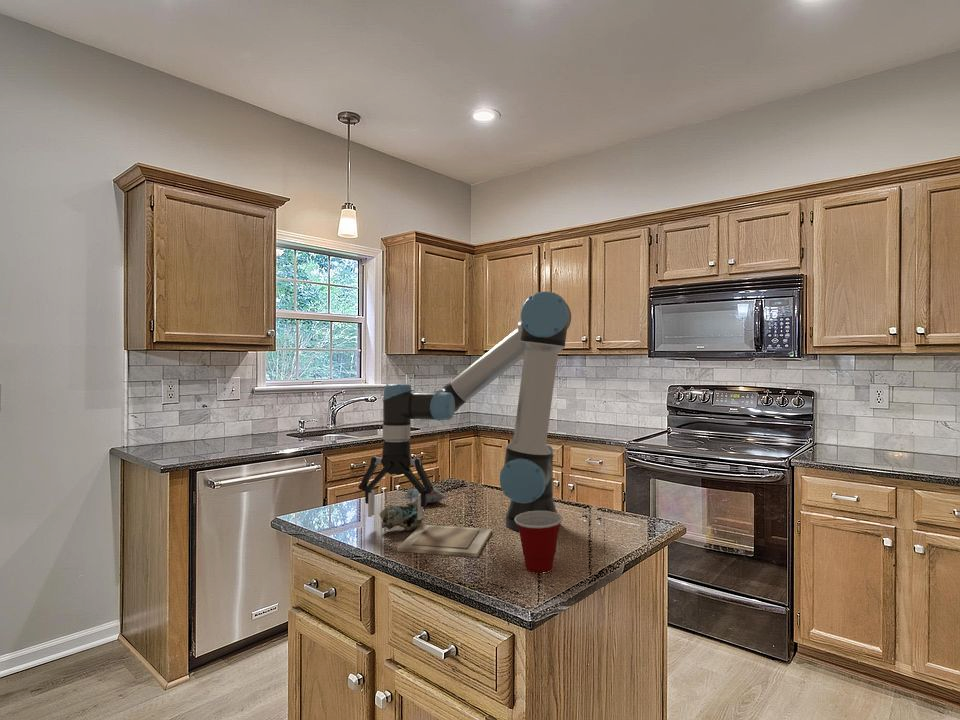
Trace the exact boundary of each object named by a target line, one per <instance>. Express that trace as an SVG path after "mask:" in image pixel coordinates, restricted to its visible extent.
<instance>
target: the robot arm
mask: <svg viewBox="0 0 960 720" xmlns="http://www.w3.org/2000/svg"><path fill="white" fill-rule="evenodd" d="M571 322H572V312H571V309H570V306H569V305H568V303H567V302H566V300H565V299H564V298H563V297H562V296H561V295H560V294H557V293H556V292H552V291H538V292H535V293H532V295H530V296H529V297H527V299H526V300H525V301H524V303H523V304H522V307H521V311H520V321H519V322H518V326H517V328H516V329H515V330H514V331H512V332H511V333H510V334H508V336H506V337H505V338H503V339H502V340H501V341H500V342H498V343H497V344H496V345H495V346H493V347H492V348H491V349H489V351H487V352H486V353H484V354H483V355H482V356H481V357H479V358H478V359H477V360H476V361H474V362H473V363H472V364H471V365H469V366H468V367H467V368H466V369H464V370H463V371H461V373H459V374H458V375H456V377H454V378H452V380H450V381H449V382H448V383H447V384H445V385H444V386H443V387H442V388H441V389H439V390H433V391H414V390H412V385H410V384H408V383H388V384H385V386H384V387H383V388H384V389H383V397H382V398H383V399H382V404H383V405H382V413H383V415H382V418H383V419H382V421H383V422H382V439H383V440H384V441H382V457H379V456H378V455H375V456H372V457H371V460H370V464H369V466H368V468H367V470H366V472H365V474H364V476H363V478H362V480H361V482H360V483H359V485H358V489H359V490H360V491H361V490H362V491H364V493H365V494H364V496H365V497H364V499H365V501H364V502H365V504H367V517H368V518H369V517H370V518H371V517H373V516H374V515H375V495H376V494H375V493H376V492H375V490H373V489H374V488H375V487H376V486H377V485H378V484H379V482H380V481H381V480H382V479H384V477H385V476H386V474H387V475H391V476H392V475H397V476H400V475H401V476H402V475H404V476H405V477H406V478H407V479H408V481H409V482H410V483H411V485H412V486H413V487H414V489H415V488H416V489H417V490H418V492H419V493H420V494H419V495H418V514H417V520H421V519H422V518H424V515H423V513H424V508H425V507H426V506H427V505H428V504H427V494H428V493H431V492H432V491H433V490H434V489H433V484H432V483H431V481H430V480H431V479H429V477H428V474H427V473H426V471H425V468H424V466H423V460H422V458H421V457H417V458H411V441H410V439H411V424H412V423H411V421H412V420H432V421H438V422H439V421H446V420H447V421H448V420H451V419H452V418H453V416H454V414H455V413H456V412H458V411H459V410H460V409H461V407H462V406H463V405H464V404H466V403H467V401H469V400H470V399H472V398H473V397H475V396H476V395H477V394H479V392H481V391H482V390H484V389H485V388H486V387H487V386H489V385H490V384H491V383H492V382H494V381H495V380H496V379H498V377H500V376H502V374H504V373H505V372H506V371H508V370H509V369H510V368H512V367H513V366H514V365H515V364H517V363H518V362H519V361H521V360H522V359H523V361H522V371H521V378H520V385H519V393H518V402H517V408H516V417H515V425H514V432H513V439H512V441H510V442H509V443H507V445H506V449H505V454H504V455H505V456H504V464H503V467H502V469H500V470H501V471H500V474H499V485H500V488H501V490H502V492H503V494H504V495H505V496H506V497H507V498H508V499H510V503H509V506H508V508H507V512H506V515H505V527H506V528H508V529H509V530H512V531H514V532H515V531H516V532H519V530H518V527H517V524H516V522H515V520H514V519H515V517H516V516H517V515H519V514H521V513H525V512H528V511H551V512H555V513H558V511H557V509H556V504H555V501H554V497H553V496H554V494H553V493H554V483H553V482H554V475H553V474H554V472H553V471H554V470H553V469H554V456H555V455H554V450H553V447H552V446H551V445H548V444H547V440H548V433H549V427H550V417H551V410H552V401H553V395H554V388H555V387H554V385H555V378H556V370H557V365H558V363H557V362H558V355H559V353H560V352H561V351H562V350H563V349H565V348H566V341H567V333H568V332H567V331H568V329H569V328H570V325H571ZM380 464H381V465H382V467H383V468H382V469H381V470H380V471H379V473H377V475H376V476H375V477H374V478H373V479H372V476H373V475H374V472H375V471H376V469H377V467H378V465H380ZM411 465H412V466H413V467H414V468H415V471H416V472H417V474H418V477H419V479H418V477H417V476H416V475H415V473H414V472H413V470H412V469H411V468H410V466H411ZM370 479H372V481H371V482H370V483H369V481H370ZM368 483H369V484H368Z"/></svg>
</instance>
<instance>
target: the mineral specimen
mask: <svg viewBox="0 0 960 720" xmlns="http://www.w3.org/2000/svg"><path fill="white" fill-rule="evenodd" d="M417 514H418V503H412V502H411V503H410V504H408V505H405V506H403V505H392V504H389V505H388V506H386V507H385V508H384V509H382V510H381V511H380V512H379V513H378V515H379V517H380V518H381V520H382V521H381V529H385V528H387V530H391V529H392V528H394V527H401V528H403V529H404V530H405V531H406V532H410V531H413V530H416V529H417V528H418V527H419V526H422V525H424V524H423V518H424V517H423V518H422V519H421V520H417ZM424 515H425V513H424V512H423V516H424Z"/></svg>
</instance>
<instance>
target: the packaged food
mask: <svg viewBox="0 0 960 720" xmlns="http://www.w3.org/2000/svg"><path fill="white" fill-rule="evenodd" d="M432 487H433V486H432ZM433 489H434V490H433V491H432V492H431V493H428V494H427V504H426V505H430V504H435V503H438V502H441V501H443V500H445V499H447V498H448V495H447V494H446V493H445V494H444V493H442V492H441V491H440V489H439V488H437V487H433ZM419 494H420V493H419V492H418V490H417V489H416V488H415V487H414V488H412V489H409V490H407V492H406V494H405V495H404V499H407V500H409V501H410V502H411V503H418V495H419Z"/></svg>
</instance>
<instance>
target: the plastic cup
mask: <svg viewBox="0 0 960 720" xmlns="http://www.w3.org/2000/svg"><path fill="white" fill-rule="evenodd" d="M514 520H515V522H516V524H517V527H518V530H519V531H518V532H519V536H520V537H519V538H520V542H521V543H520V544H521V548H522V549H521V550H522V554H523V560H524V565H525V569H526V570H528V571H527V572H529V571H530V572H529V573H531V572H534V573H533V574H536V573H543V572H548V571H550V570H551V569H553V566H554V559H555V555H556V550H557V549H556V548H557V543H558V538H559V537H558V536H559V531H560V526H561V523H562V521H563V516H562V515H561V513H558V512H557V513H555V512H551V511H528V512H525V513H521V514H519V515H517V516H516V517H515V519H514ZM551 571H552V570H551ZM551 571H550V572H551Z"/></svg>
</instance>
